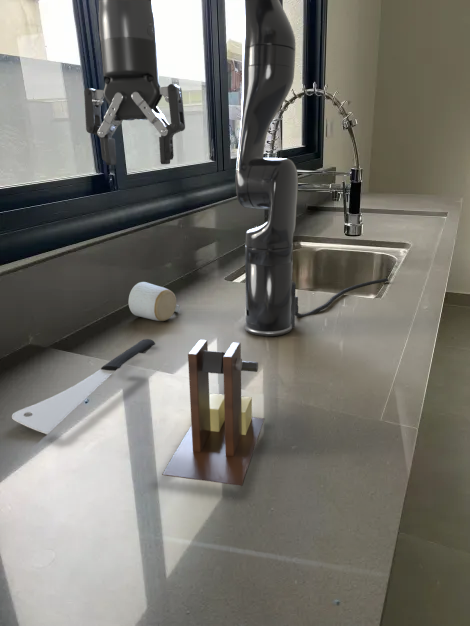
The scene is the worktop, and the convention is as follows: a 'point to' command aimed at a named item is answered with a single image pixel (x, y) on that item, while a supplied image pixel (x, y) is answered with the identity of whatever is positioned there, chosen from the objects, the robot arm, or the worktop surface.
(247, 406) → the butter
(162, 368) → the worktop surface
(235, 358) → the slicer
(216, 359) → the lever
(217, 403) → the butter
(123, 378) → the worktop surface
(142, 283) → the ceramic mug
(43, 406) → the kitchen cleaver
